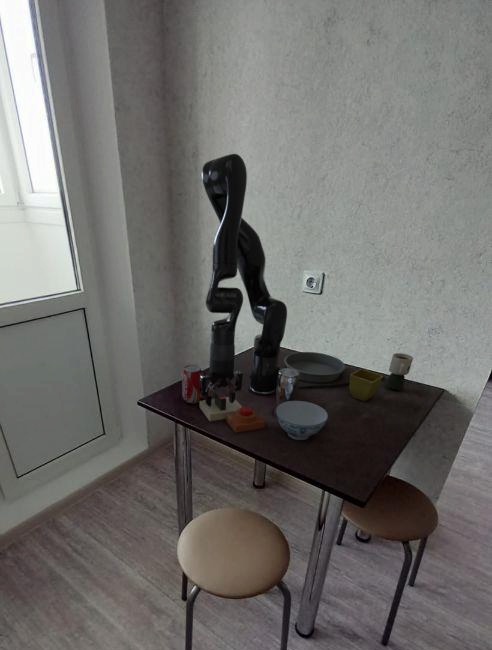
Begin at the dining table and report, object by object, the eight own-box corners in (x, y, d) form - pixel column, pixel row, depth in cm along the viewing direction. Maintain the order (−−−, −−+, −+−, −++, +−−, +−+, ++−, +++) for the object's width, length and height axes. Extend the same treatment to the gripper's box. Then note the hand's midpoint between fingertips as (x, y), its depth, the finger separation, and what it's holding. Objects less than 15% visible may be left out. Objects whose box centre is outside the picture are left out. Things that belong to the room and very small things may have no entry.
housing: (253, 415, 132) (254, 405, 130) (264, 427, 126) (265, 416, 124) (225, 420, 129) (226, 409, 127) (235, 432, 123) (236, 421, 120)
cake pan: (271, 372, 165) (272, 361, 162) (302, 357, 181) (303, 347, 179) (325, 390, 151) (327, 379, 149) (353, 372, 168) (355, 362, 165)
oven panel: (231, 402, 140) (232, 395, 138) (245, 417, 131) (245, 409, 130) (199, 407, 136) (199, 400, 134) (210, 422, 127) (211, 415, 126)
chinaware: (290, 452, 115) (294, 428, 111) (265, 426, 126) (267, 405, 122) (333, 442, 120) (338, 419, 116) (305, 419, 132) (308, 397, 128)
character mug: (405, 395, 150) (415, 362, 144) (385, 392, 152) (394, 360, 145) (402, 384, 159) (411, 352, 153) (383, 381, 161) (391, 350, 154)
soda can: (199, 406, 137) (200, 373, 130) (179, 403, 138) (179, 370, 132) (204, 397, 143) (205, 365, 136) (185, 394, 144) (185, 363, 137)
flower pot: (378, 398, 147) (384, 375, 143) (367, 405, 142) (373, 382, 137) (355, 390, 152) (361, 368, 148) (344, 397, 147) (349, 374, 142)
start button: (248, 410, 128) (248, 405, 127) (253, 415, 125) (253, 410, 124) (238, 412, 126) (238, 407, 125) (242, 417, 123) (243, 412, 123)
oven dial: (214, 403, 133) (214, 391, 131) (219, 402, 134) (219, 390, 132) (220, 410, 129) (221, 398, 127) (225, 410, 130) (226, 398, 127)
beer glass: (280, 420, 130) (286, 378, 122) (268, 411, 135) (273, 369, 127) (297, 416, 133) (304, 374, 125) (285, 407, 138) (291, 366, 130)
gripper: (238, 349, 128) (235, 396, 136) (195, 353, 123) (195, 402, 131) (248, 357, 122) (244, 405, 130) (204, 362, 117) (203, 412, 125)
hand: (220, 403), depth 131 cm, fingers open, 7 cm apart
